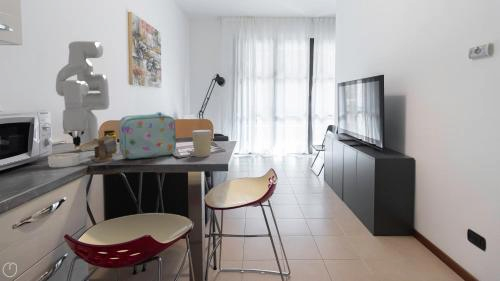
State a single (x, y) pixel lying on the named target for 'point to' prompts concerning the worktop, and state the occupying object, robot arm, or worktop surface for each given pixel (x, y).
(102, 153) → the stand
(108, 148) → the lever
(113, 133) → the condiment
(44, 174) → the worktop surface
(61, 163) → the bowl
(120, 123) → the lunch box
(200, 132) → the coffee cup
